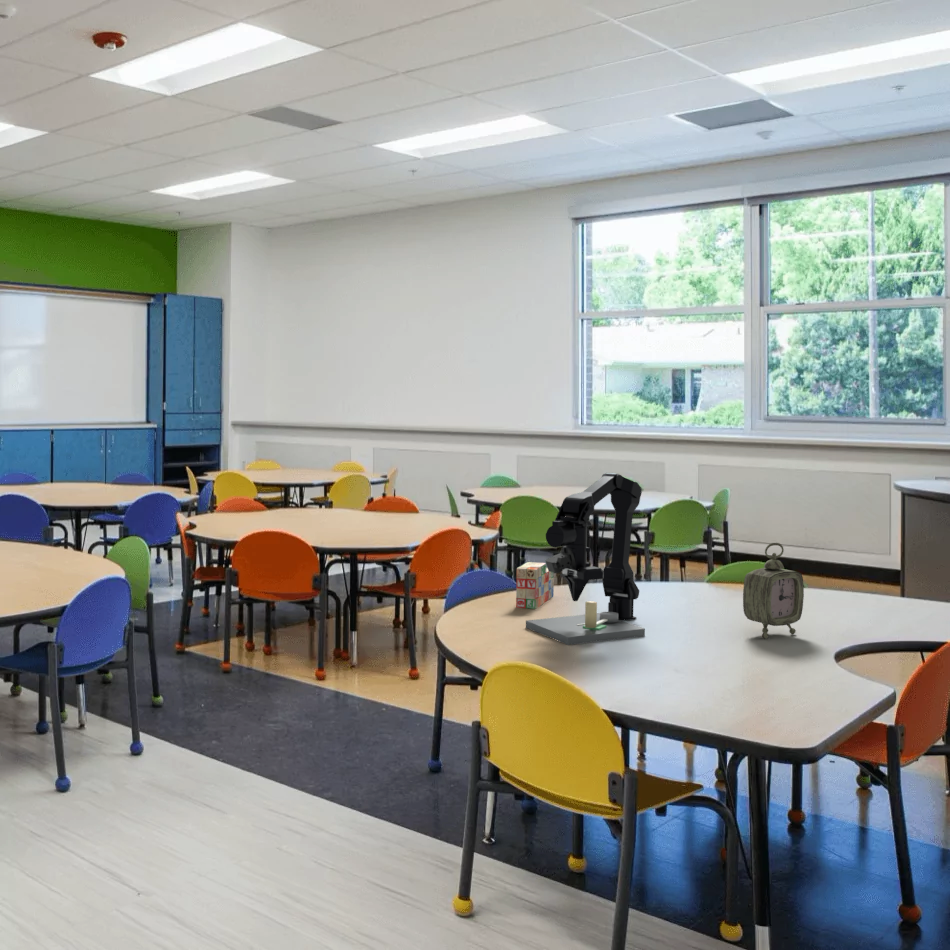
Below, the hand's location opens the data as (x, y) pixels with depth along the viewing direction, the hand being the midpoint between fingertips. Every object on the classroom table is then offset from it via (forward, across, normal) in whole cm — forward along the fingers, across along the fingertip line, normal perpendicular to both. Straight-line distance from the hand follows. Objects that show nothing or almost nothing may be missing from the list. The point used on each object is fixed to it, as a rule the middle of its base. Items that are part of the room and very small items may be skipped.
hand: (575, 601), depth 276 cm
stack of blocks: (+9, -41, +12) cm, 44 cm away
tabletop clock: (+9, +24, +47) cm, 53 cm away
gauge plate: (+9, 0, +3) cm, 9 cm away
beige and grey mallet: (+6, +3, +6) cm, 9 cm away
